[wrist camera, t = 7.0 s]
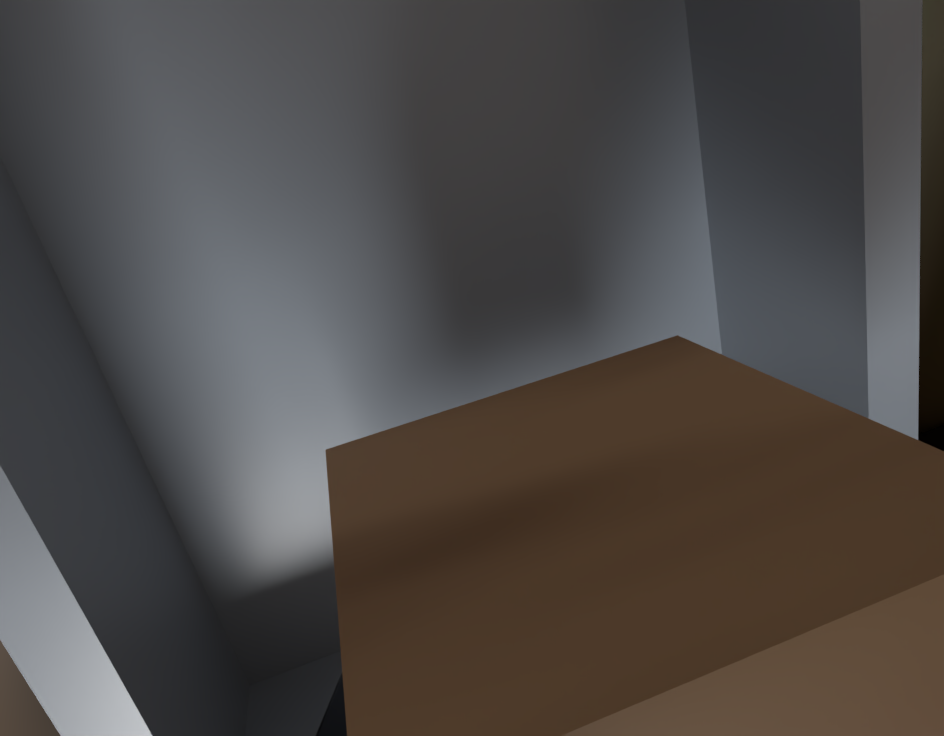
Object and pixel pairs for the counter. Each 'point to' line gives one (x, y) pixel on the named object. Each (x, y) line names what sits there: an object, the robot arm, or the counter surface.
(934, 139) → the counter surface
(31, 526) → the grey tote
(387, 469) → the walnut block
